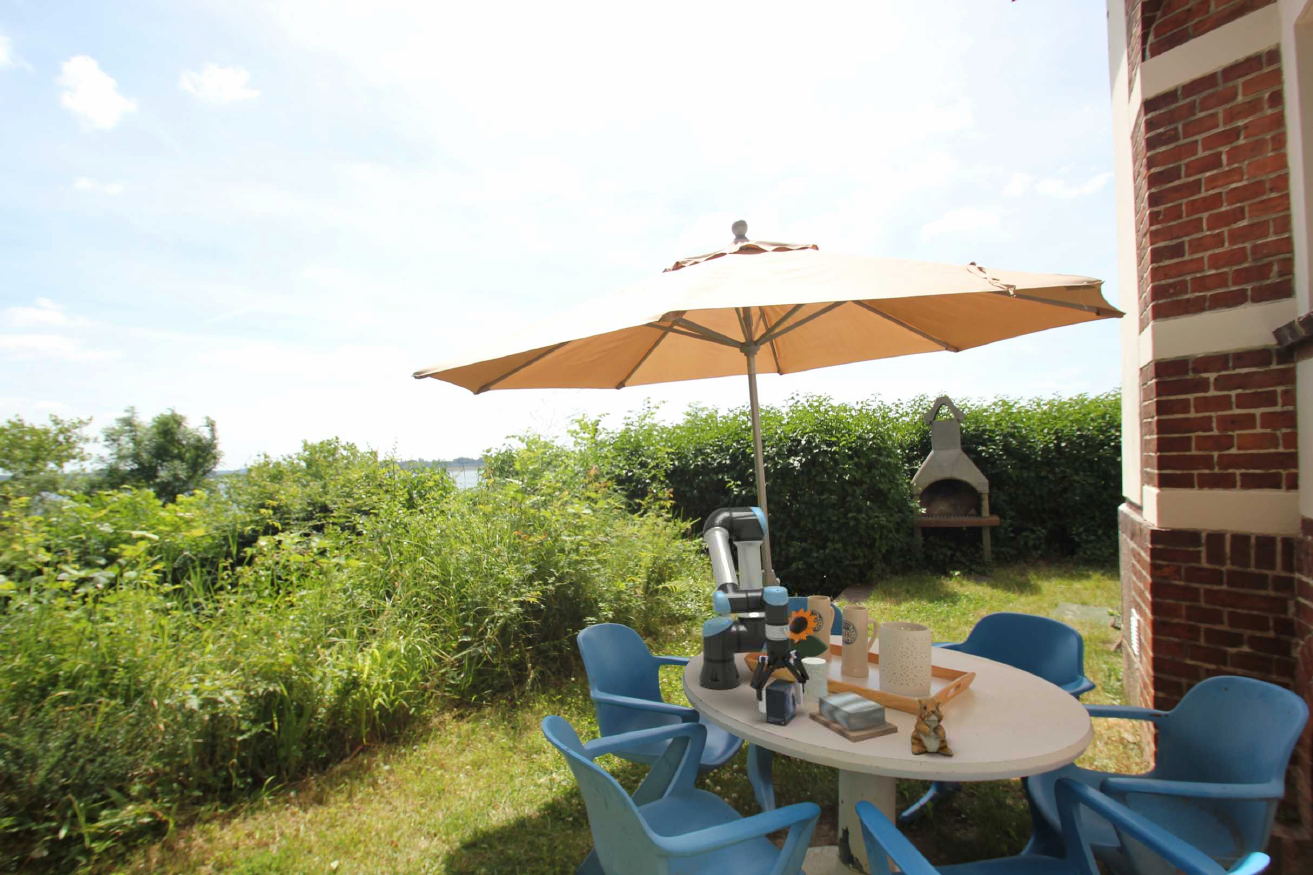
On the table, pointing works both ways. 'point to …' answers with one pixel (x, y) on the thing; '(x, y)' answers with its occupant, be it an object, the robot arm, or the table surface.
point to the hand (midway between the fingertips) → (781, 707)
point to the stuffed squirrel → (929, 729)
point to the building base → (854, 734)
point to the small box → (780, 702)
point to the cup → (815, 678)
